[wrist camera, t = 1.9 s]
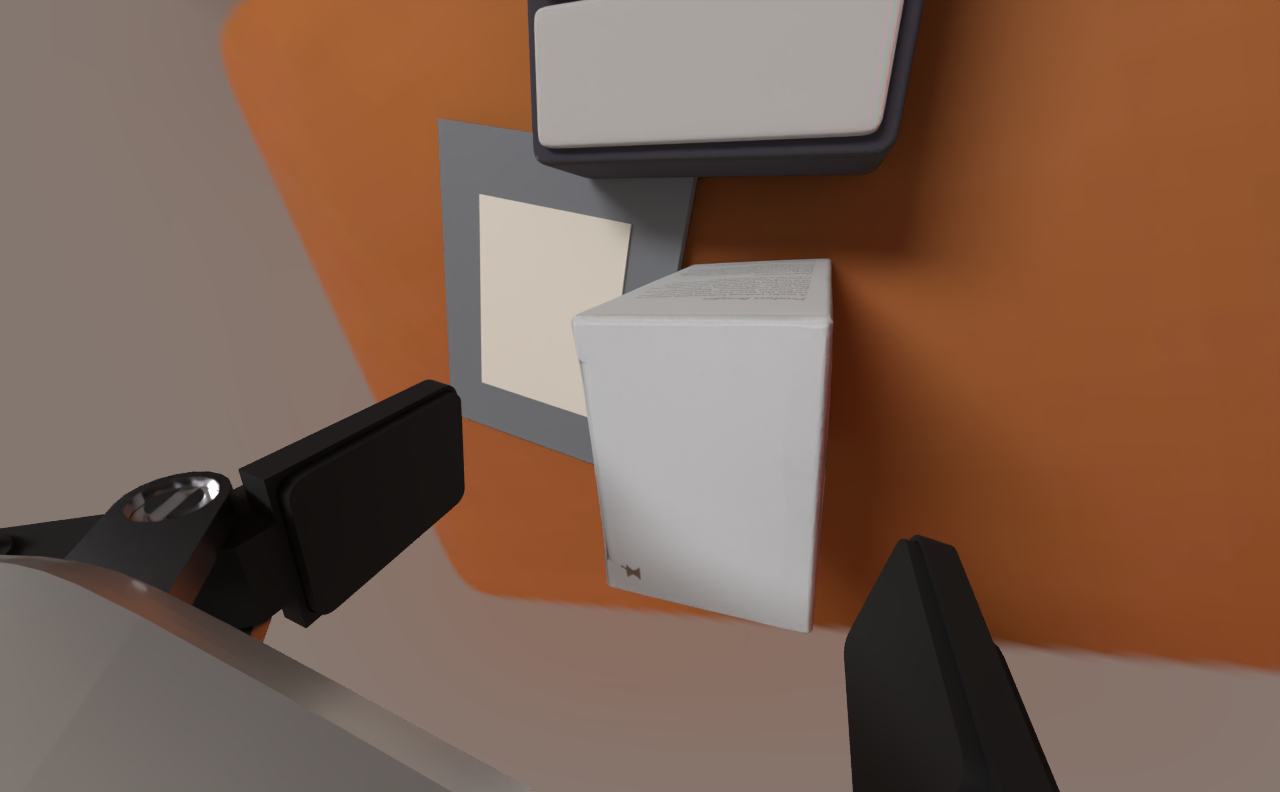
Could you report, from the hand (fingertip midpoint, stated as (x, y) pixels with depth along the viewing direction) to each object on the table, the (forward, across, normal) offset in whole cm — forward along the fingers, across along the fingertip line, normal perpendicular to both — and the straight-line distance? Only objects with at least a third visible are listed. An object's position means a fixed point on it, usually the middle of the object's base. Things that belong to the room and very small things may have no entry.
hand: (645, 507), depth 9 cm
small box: (+12, -1, 0) cm, 12 cm away
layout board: (+12, +9, +1) cm, 15 cm away
